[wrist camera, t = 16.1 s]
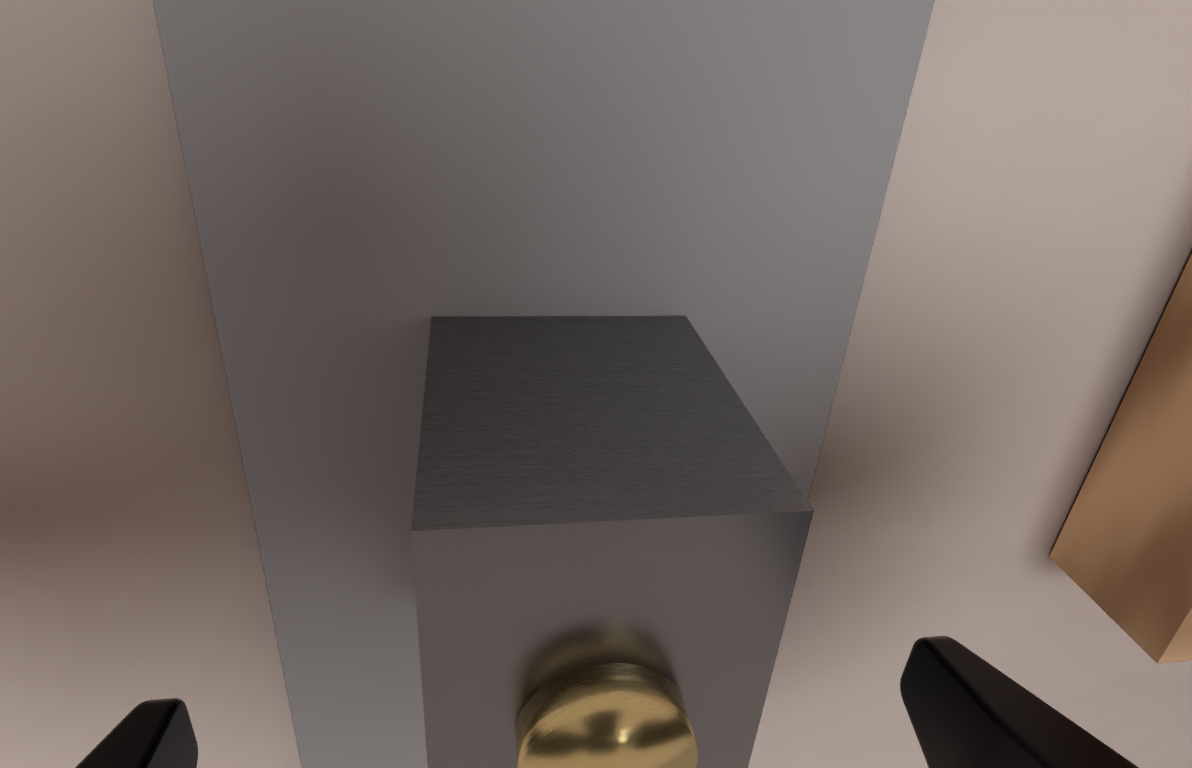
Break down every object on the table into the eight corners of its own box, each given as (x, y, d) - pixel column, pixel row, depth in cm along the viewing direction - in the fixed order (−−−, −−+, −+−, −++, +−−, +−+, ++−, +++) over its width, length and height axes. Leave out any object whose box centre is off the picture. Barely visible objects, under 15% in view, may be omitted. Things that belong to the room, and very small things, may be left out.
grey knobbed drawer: (649, 592, 15) (740, 896, 10) (444, 606, 14) (433, 939, 9) (686, 315, 12) (840, 551, 7) (431, 316, 11) (406, 576, 6)
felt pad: (740, 728, 18) (745, 743, 18) (309, 771, 16) (306, 788, 16) (923, -18, 10) (938, -18, 10) (148, -83, 9) (136, -86, 8)
